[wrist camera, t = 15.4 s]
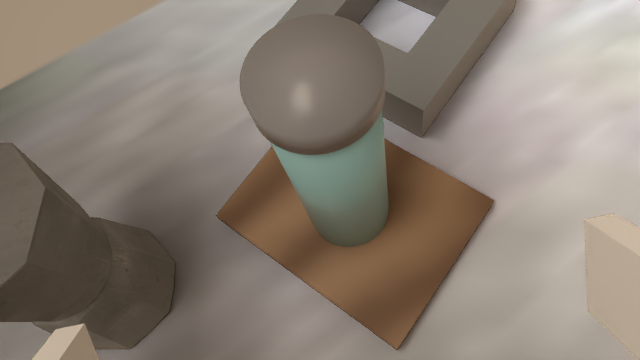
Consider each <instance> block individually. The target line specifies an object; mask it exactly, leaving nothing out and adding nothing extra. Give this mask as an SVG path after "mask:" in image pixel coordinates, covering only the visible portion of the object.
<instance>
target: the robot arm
mask: <svg viewBox="0 0 640 360" xmlns="http://www.w3.org/2000/svg"><path fill="white" fill-rule="evenodd" d="M584 227H585V252H586V277H587V302H588V312H589V313H590V314H591V315H592V316H593V317H594V318H595V319H596V320H597V321H598V322H599V323H601V324H602V325H603V326H604V327H605V328H606V329H607V330H608V331H609V332H610V333H611V334H612V335H613V336H614V337H615V338H616V339H617V340H618V341H619V342H620V343H621V344H623V345H624V346H625V347H626V348H627V349H628V350H629V351H630V352H631V353H632V354H633V355H634V356H635V357H636V358H637V359H638V360H640V228H638V227H636V226H635V225H633V224H631V223H629V222H628V221H626V220H624V219H622V218H621V217H619V216H617V215H615V214H614V213H613V214H609V215H604V216H599V217H594V218H589V219H585V220H584ZM32 360H99V358H98V356H97V353H96V351H95V348H94V346H93V343H92V341H91V338H90V336H89V333H88V331H87V328H86V326H85V323H84V324H79V325H74V326H69V327H64V328H60V329H55V331H54V332H53V333H52V335H51V336H50V337H49V338H48V340H47V341H46V342H45V343H44V345H43V346H42V347H41V349H40V350H39V351H38V352H37V354H36V355H35V356H34V358H33V359H32Z"/></svg>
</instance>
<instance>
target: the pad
mask: <svg viewBox="0 0 640 360" xmlns="http://www.w3.org/2000/svg"><path fill="white" fill-rule="evenodd" d="M384 143H385V158H386V173H387V188H388V203H389V213H388V218H387V222H386V224H385V226H384V228H383V229H382V231H381V232H380V233H379V234H378V235H377V236H376V237H375V238H374V239H372V240H371V241H369V242H367V243H365V244H363V245H360V246H355V247H343V246H338V245H335V244H332V243H330V242H328V241H327V240H325V239H324V238H323V237H322V236H321V235H320V234H319V233H318V232H317V230H316V229H315V227H314V225H313V223H312V221H311V219H310V217H309V215H308V213H307V211H306V209H305V208H304V206H303V204H302V202H301V200H300V198H299V196H298V194H297V192H296V190H295V188H294V187H293V185H292V183H291V181H290V179H289V177H288V175H287V173H286V171H285V169H284V167H283V166H282V164H281V162H280V160H279V158H278V156H277V154H276V152H275V150H274V148H273V146H272V147H271V148H270V150H269V151H268V152H267V153H266V155H265V156H264V157H263V158H262V160H261V161H260V162H259V163H258V164H257V166H256V167H255V168H254V169H253V171H252V172H251V173H250V174H249V175H248V177H247V178H246V179H245V180H244V182H243V183H242V184H241V185H240V187H239V188H238V189H237V190H236V191H235V193H234V194H233V195H232V196H231V198H230V199H229V200H228V201H227V202H226V204H225V205H224V206H223V207H222V209H221V210H220V211H219V212H218V214H217V215H216V216H217V217H218V218H219V219H220V220H221V221H222V222H224V223H225V224H226V225H228V226H229V227H230V228H232V229H233V230H235V231H236V232H237V233H239V234H240V235H241V236H243V237H244V238H245V239H247V240H248V241H249V242H251V243H252V244H254V245H255V246H256V247H258V248H259V249H260V250H262V251H263V252H264V253H266V254H267V255H269V256H270V257H271V258H273V259H274V260H275V261H277V262H278V263H279V264H281V265H282V266H283V267H285V268H286V269H288V270H289V271H290V272H292V273H293V274H294V275H296V276H297V277H298V278H300V279H301V280H302V281H304V282H305V283H307V284H308V285H309V286H311V287H312V288H313V289H315V290H316V291H317V292H319V293H320V294H321V295H323V296H324V297H326V298H327V299H328V300H330V301H331V302H332V303H334V304H335V305H336V306H338V307H339V308H340V309H342V310H343V311H345V312H346V313H347V314H349V315H350V316H351V317H353V318H354V319H355V320H357V321H358V322H360V323H361V324H362V325H364V326H365V327H366V328H368V329H369V330H370V331H372V332H373V333H374V334H376V335H377V336H379V337H380V338H381V339H383V340H384V341H385V342H387V343H388V344H389V345H391V346H392V347H393V348H395V349H396V350H398V348H399V347H400V345H401V344H402V342H403V341H404V339H405V338H406V336H407V335H408V333H409V332H410V330H411V329H412V327H413V326H414V324H415V322H416V321H417V319H418V318H419V316H420V315H421V313H422V312H423V310H424V309H425V307H426V306H427V304H428V303H429V301H430V299H431V298H432V296H433V295H434V293H435V292H436V290H437V289H438V287H439V286H440V284H441V283H442V281H443V280H444V278H445V276H446V275H447V273H448V272H449V270H450V269H451V267H452V266H453V264H454V263H455V261H456V260H457V258H458V257H459V255H460V253H461V252H462V250H463V249H464V247H465V246H466V244H467V243H468V241H469V240H470V238H471V237H472V235H473V234H474V232H475V230H476V229H477V227H478V226H479V224H480V223H481V221H482V220H483V218H484V217H485V215H486V214H487V212H488V211H489V209H490V207H491V206H492V204H493V202H494V200H492V199H490V198H489V197H487V196H485V195H483V194H482V193H480V192H478V191H476V190H474V189H473V188H471V187H469V186H467V185H466V184H464V183H462V182H460V181H458V180H457V179H455V178H453V177H451V176H450V175H448V174H446V173H444V172H442V171H441V170H439V169H437V168H435V167H434V166H432V165H430V164H428V163H426V162H425V161H423V160H421V159H419V158H418V157H416V156H414V155H412V154H410V153H409V152H407V151H405V150H403V149H402V148H400V147H398V146H396V145H394V144H393V143H391V142H389V141H387V140H386V139H384Z"/></svg>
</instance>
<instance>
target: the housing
mask: <svg viewBox="0 0 640 360" xmlns="http://www.w3.org/2000/svg"><path fill="white" fill-rule="evenodd" d="M378 1H379V0H298V1H297V2H296V3H295V4H294V5H293V6H292V7H291V9H290V10H289V11H288V12H287V13H286V14H285V15H284V17H283V18H282V19H281V20H280V21H279V22H278V23H277V25H279V24H281V23H283V22H285V21H288V20H290V19H293V18H296V17H300V16H305V15H312V14H329V15H335V16H340V17H343V18H346V19H349V20H351V21H354V22H355V23H357V24H360V23H361V21H362V20H363V19H364V18H365V16H366V15H367V14H368V13H369V12H370V10H371V9H372V8H373V7H374V5H375V4H376V3H377V2H378ZM399 1H401V2H404V3H406V4H408V5H410V6H413V7H415V8H417V9H420V10H422V11H424V12H426V13H429V14H431V15H433V16H436V18H435V20H434V21H433V22H432V24H431V25H430V26H429V27H428V29H427V30H426V31H425V33H424V34H423V35H422V36H421V38H420V39H419V40H418V42H417V43H416V44H415V45H414V47H413V48H412V49H411V51H410V52H409V53H408V54H407V53H405V52H403V51H401V50H399V49H397V48H395V47H393V46H391V45H389V44H386V43H384V42H382V41H380V40H378V39H376V38H374V39H375V40H376V42H377V43H378V45H379V47H380V49H381V52H382V55H383V60H384V69H385V101H384V105H383V108H382V113H383V117H384V118H386V119H388V120H390V121H392V122H394V123H395V124H397V125H399V126H401V127H403V128H405V129H406V130H408V131H410V132H412V133H414V134H416V135H417V136H419V137H421V138H422V136H423V135H424V134H425V132H426V131H427V130H428V128H429V127H430V125H431V124H432V123H433V121H434V120H435V119H436V117H437V116H438V114H439V113H440V112H441V110H442V109H443V107H444V106H445V105H446V103H447V102H448V101H449V99H450V98H451V96H452V95H453V94H454V92H455V91H456V90H457V88H458V87H459V85H460V84H461V83H462V81H463V80H464V79H465V77H466V76H467V74H468V73H469V72H470V70H471V69H472V67H473V66H474V65H475V63H476V62H477V61H478V59H479V58H480V56H481V55H482V54H483V52H484V51H485V50H486V48H487V47H488V45H489V44H490V43H491V41H492V40H493V38H494V37H495V36H496V34H497V33H498V32H499V30H500V29H501V27H502V26H503V25H504V23H505V22H506V21H507V19H508V18H509V16H510V15H511V14H512V12H513V10H514V7H515V3H516V0H399ZM277 25H276V26H277Z"/></svg>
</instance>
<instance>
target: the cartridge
mask: <svg viewBox="0 0 640 360" xmlns="http://www.w3.org/2000/svg"><path fill="white" fill-rule="evenodd" d="M240 90H241V96H242V98H243V101H244V104H245V105H246V107H247V109H248V111H249V113H250V115H251V117H252V118H253V120H254V122H255V124H256V126H257V128H258V129H259V131H260V132H261V133H262V135H263V136H264V137H265V138H266V139H267V140H269V141H270V143H271V145H272V146H273V148H274V150H275V152H276V154H277V156H278V158H279V160H280V162H281V164H282V166H283V167H284V169H285V171H286V173H287V175H288V177H289V179H290V181H291V183H292V185H293V187H294V188H295V190H296V192H297V194H298V196H299V198H300V200H301V202H302V204H303V206H304V208H305V209H306V211H307V213H308V215H309V217H310V219H311V221H312V223H313V225H314V227H315V229H316V230H317V232H318V233H319V234H320V235H321V236H322V237H323V238H324V239H325V240H327V241H328V242H330V243H332V244H335V245H338V246H343V247H355V246H360V245H363V244H365V243H367V242H369V241H371V240H372V239H374V238H375V237H376V236H377V235H378V234H379V233H380V232H381V231H382V229H383V228H384V226H385V224H386V222H387V218H388V213H389V203H388V188H387V173H386V158H385V143H384V128H383V113H382V108H383V105H384V101H385V69H384V60H383V55H382V52H381V49H380V47H379V45H378V43H377V42H376V40H375V39H374V37H373V36H372V35H371V34H370V33H369V32H368V31H367V30H366V29H365V28H363V27H362V26H361V25H359V24H357V23H355V22H354V21H351V20H349V19H346V18H343V17H340V16H335V15H329V14H312V15H305V16H300V17H296V18H293V19H290V20H288V21H285V22H283V23H281V24H279V25H277V26H275V27H274V28H272V29H271V30H269V31H268V32H267V33H265V34H264V35H263V36H262V37H261V38H260V39H259V40H258V41H257V42H256V43H255V44H254V45H253V47H252V48H251V49H250V51H249V53H248V54H247V56H246V58H245V60H244V63H243V66H242V69H241V74H240Z"/></svg>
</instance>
